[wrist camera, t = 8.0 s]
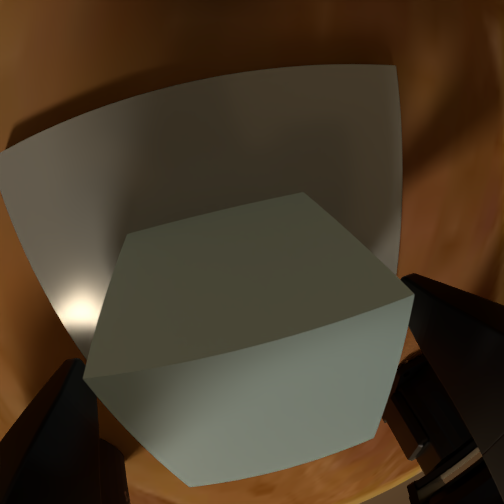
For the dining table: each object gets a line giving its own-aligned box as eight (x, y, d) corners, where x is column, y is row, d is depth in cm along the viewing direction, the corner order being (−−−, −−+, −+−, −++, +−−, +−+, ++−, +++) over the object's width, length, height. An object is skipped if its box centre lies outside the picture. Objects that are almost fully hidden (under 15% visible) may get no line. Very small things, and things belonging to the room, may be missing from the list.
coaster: (381, 66, 8) (395, 65, 7) (375, 343, 14) (383, 354, 13) (3, 152, 7) (-10, 158, 6) (133, 405, 12) (132, 418, 12)
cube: (303, 191, 8) (414, 294, 4) (313, 324, 11) (373, 438, 7) (127, 234, 8) (82, 378, 4) (179, 357, 10) (189, 487, 6)
